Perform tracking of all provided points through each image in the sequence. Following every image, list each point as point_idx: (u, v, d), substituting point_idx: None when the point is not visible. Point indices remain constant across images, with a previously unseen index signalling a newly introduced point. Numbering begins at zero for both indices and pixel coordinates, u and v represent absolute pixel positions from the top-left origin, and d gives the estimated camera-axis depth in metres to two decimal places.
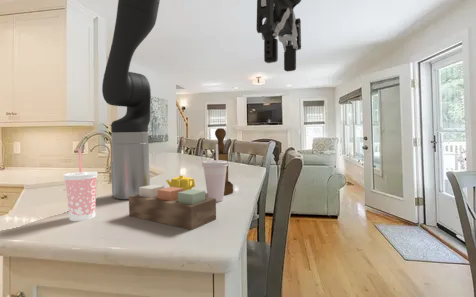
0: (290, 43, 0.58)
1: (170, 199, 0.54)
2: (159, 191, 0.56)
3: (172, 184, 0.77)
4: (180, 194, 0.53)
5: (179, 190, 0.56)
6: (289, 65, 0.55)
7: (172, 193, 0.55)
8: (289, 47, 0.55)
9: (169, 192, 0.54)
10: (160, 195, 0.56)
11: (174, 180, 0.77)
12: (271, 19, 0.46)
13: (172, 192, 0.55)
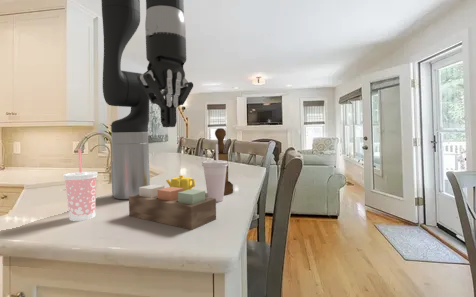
0: None
1: (170, 199, 0.54)
2: (159, 191, 0.56)
3: (172, 184, 0.77)
4: (180, 194, 0.53)
5: (179, 190, 0.56)
6: None
7: (172, 193, 0.55)
8: None
9: (169, 192, 0.54)
10: (160, 195, 0.56)
11: (174, 180, 0.77)
12: (159, 94, 0.52)
13: (172, 192, 0.55)
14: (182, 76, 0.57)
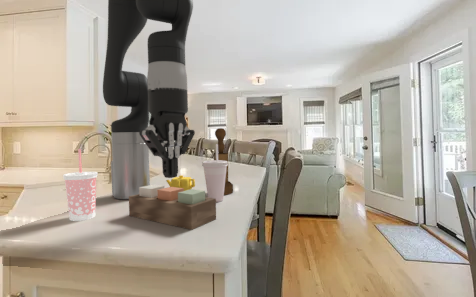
0: None
1: (170, 199, 0.54)
2: (159, 191, 0.56)
3: (172, 184, 0.77)
4: (180, 194, 0.53)
5: (179, 190, 0.56)
6: None
7: (172, 193, 0.55)
8: None
9: (169, 192, 0.54)
10: (160, 195, 0.56)
11: (174, 180, 0.77)
12: (161, 148, 0.53)
13: (172, 192, 0.55)
14: (184, 125, 0.58)
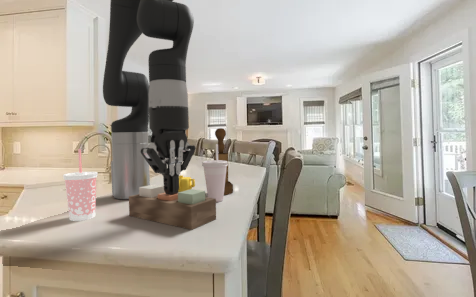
0: None
1: None
2: (159, 196, 0.56)
3: None
4: (180, 194, 0.53)
5: None
6: None
7: (172, 198, 0.55)
8: None
9: (169, 197, 0.54)
10: None
11: None
12: (162, 166, 0.53)
13: (172, 197, 0.55)
14: (184, 142, 0.58)
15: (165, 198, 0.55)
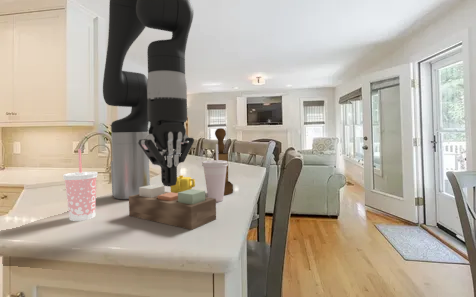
0: None
1: None
2: (159, 197, 0.56)
3: None
4: (180, 194, 0.53)
5: None
6: None
7: (172, 199, 0.55)
8: None
9: (169, 198, 0.54)
10: None
11: None
12: (160, 158, 0.53)
13: (172, 198, 0.55)
14: (183, 134, 0.58)
15: (165, 199, 0.55)
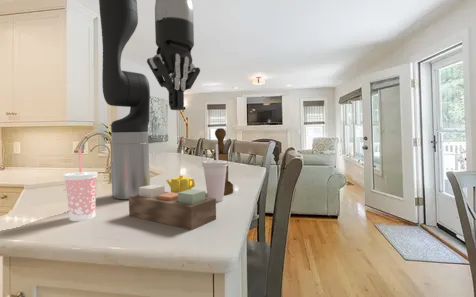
0: None
1: None
2: (159, 197, 0.56)
3: (172, 184, 0.77)
4: (180, 194, 0.53)
5: None
6: None
7: (172, 199, 0.55)
8: None
9: (169, 198, 0.54)
10: None
11: (174, 180, 0.77)
12: (167, 77, 0.54)
13: (172, 198, 0.55)
14: (189, 61, 0.59)
15: (165, 199, 0.55)
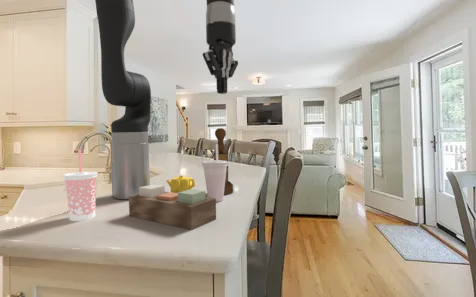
0: None
1: None
2: (159, 197, 0.56)
3: (172, 184, 0.77)
4: (180, 194, 0.53)
5: None
6: None
7: (172, 199, 0.55)
8: None
9: (169, 198, 0.54)
10: None
11: (174, 180, 0.77)
12: (217, 67, 0.70)
13: (172, 198, 0.55)
14: (231, 55, 0.76)
15: (165, 199, 0.55)
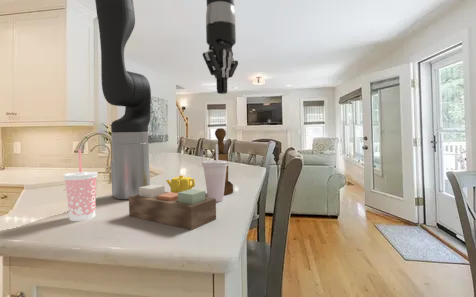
0: None
1: None
2: (159, 197, 0.56)
3: (172, 184, 0.77)
4: (180, 194, 0.53)
5: None
6: None
7: (172, 199, 0.55)
8: None
9: (169, 198, 0.54)
10: None
11: (174, 180, 0.77)
12: (217, 67, 0.70)
13: (172, 198, 0.55)
14: (231, 55, 0.76)
15: (165, 199, 0.55)
